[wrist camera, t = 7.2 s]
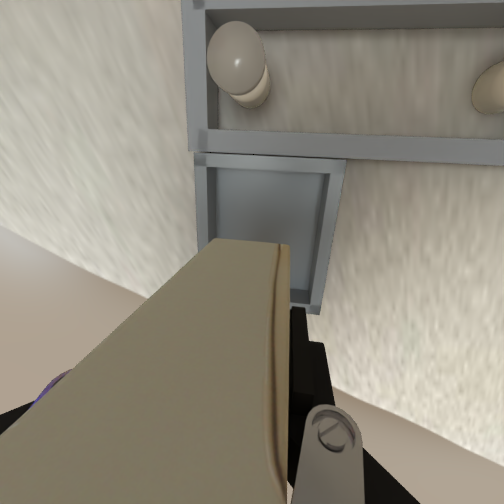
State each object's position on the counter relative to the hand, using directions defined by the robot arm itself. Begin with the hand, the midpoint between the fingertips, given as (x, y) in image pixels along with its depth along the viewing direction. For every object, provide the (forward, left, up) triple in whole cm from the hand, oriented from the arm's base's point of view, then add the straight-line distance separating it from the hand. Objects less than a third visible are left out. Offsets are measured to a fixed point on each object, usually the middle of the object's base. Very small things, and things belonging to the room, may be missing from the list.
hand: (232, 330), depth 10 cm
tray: (0, 0, -15) cm, 15 cm away
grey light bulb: (+2, -12, -15) cm, 19 cm away
